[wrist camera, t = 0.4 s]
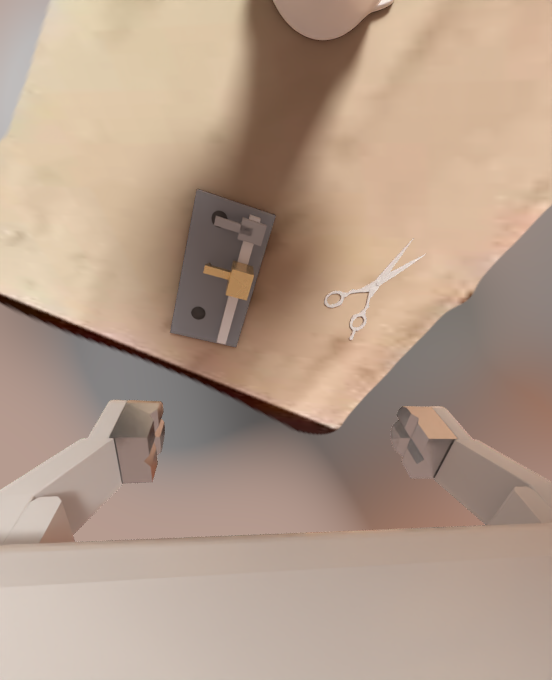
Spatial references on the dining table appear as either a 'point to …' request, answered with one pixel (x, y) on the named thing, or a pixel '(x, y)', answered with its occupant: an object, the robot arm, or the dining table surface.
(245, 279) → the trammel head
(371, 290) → the scissors
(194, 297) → the plate
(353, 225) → the dining table surface
